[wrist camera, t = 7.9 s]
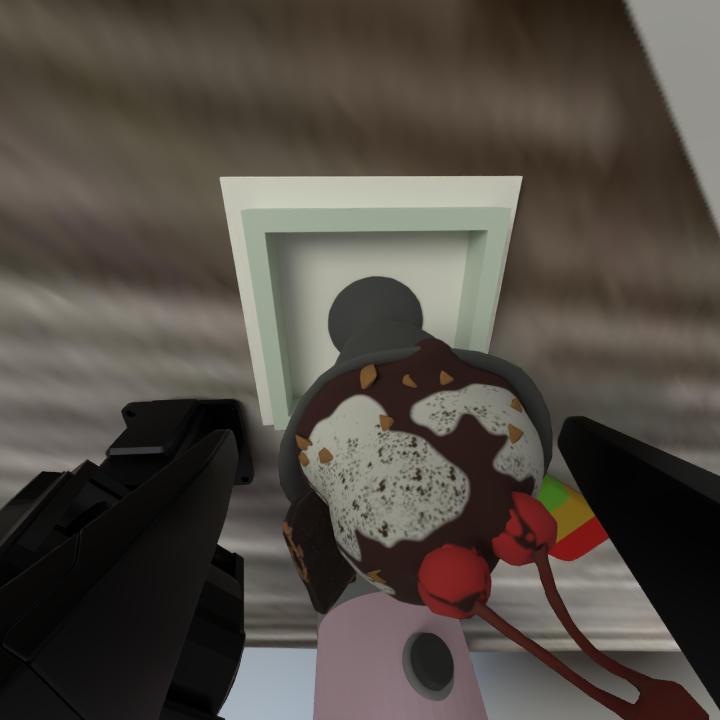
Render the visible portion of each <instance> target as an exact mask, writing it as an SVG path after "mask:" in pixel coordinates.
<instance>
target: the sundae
mask: <svg viewBox="0 0 720 720" xmlns="http://www.w3.org/2000/svg"><path fill="white" fill-rule="evenodd" d="M422 324H423V315H422V309H421V306H420V302H419V301H418V299H417V297H416V296H415V294H414V293H413V292H412V291H411V290H410V288H409V287H407V286H406V285H404V284H403V283H401V282H399V281H397V280H395V279H393V278H388V277H382V276H371V277H367V278H362V279H360V280H357V281H354V282H352V283H351V284H350V285H348V286H347V287H345V288H344V289H343V290H342V291H341V292H340V293H339V294H338V295H337V297H336V298H335V300H334V302H333V304H332V306H331V308H330V310H329V316H328V331H329V335H330V338H331V340H332V342H333V345H334V346H335V347H336V349H337V350H338V351H339V352H340V354H339V356H338V358H337V360H336V362H335V364H334V366H332V367H331V368H330V369H328V370H327V371H326V372H324V373H323V374H322V375H320V376H319V377H318V379H317V380H316V381H315V382H314V383H313V385H312V386H311V387H310V388H309V389H308V390H307V392H306V393H305V394H304V395H303V396H302V398H301V399H300V401H299V403H298V405H297V407H296V409H295V411H294V413H293V414H292V416H291V418H290V421H289V423H288V426H287V428H286V431H285V433H284V436H283V438H282V441H281V445H280V455H279V476H280V485H281V487H282V488H283V490H284V492H285V494H286V496H287V498H288V499H289V501H290V502H291V506H290V508H289V511H288V513H287V515H286V518H285V520H284V523H283V525H282V527H283V535H284V537H285V540H286V543H287V546H288V549H289V551H290V554H291V557H292V560H293V562H294V565H295V567H296V569H297V571H298V573H299V576H300V578H301V579H302V581H303V583H304V584H305V586H306V588H307V590H308V593H309V596H310V599H311V601H312V604H313V606H314V608H315V610H316V611H317V612H319V613H320V614H322V615H323V614H327V613H328V612H329V610H330V609H331V608H332V607H333V605H334V604H335V603H336V602H337V600H338V599H339V597H340V596H341V595H342V593H343V592H344V590H345V589H346V588H347V586H348V585H349V583H350V582H351V581H352V579H353V578H354V576H355V575H356V573H358V574H360V575H361V576H362V577H363V578H365V579H366V580H367V581H368V582H369V583H371V584H372V585H374V586H375V587H376V588H378V589H379V590H381V591H383V592H384V593H386V594H388V595H389V596H391V597H393V598H394V599H396V600H398V601H400V602H403V603H407V604H410V605H418V606H427V607H428V608H429V609H430V610H431V611H432V613H435V614H438V615H442V616H446V617H451V618H455V619H467V618H471V617H472V616H474V615H477V616H480V617H481V618H483V619H484V620H485V621H486V622H488V623H489V624H490V625H492V626H493V627H494V628H496V629H497V630H498V631H500V632H501V633H502V634H504V635H505V636H506V637H508V638H509V639H511V640H512V641H514V642H515V643H517V644H518V645H520V646H522V647H523V648H525V649H526V650H528V651H529V652H530V653H532V654H533V655H534V656H536V657H537V658H538V659H540V660H541V661H542V662H544V663H545V664H547V665H548V666H549V667H550V668H552V669H553V670H555V671H556V672H557V673H559V674H560V675H561V676H563V677H564V678H565V679H567V680H568V681H570V682H571V683H572V684H574V685H575V686H576V687H578V688H579V689H580V690H582V691H583V692H584V693H586V694H587V695H589V696H590V697H591V698H593V699H595V700H596V701H598V702H599V703H601V704H602V705H604V706H605V707H607V708H609V709H610V710H612V711H613V712H615V713H616V714H617V715H619V716H620V717H621V718H622V719H624V720H709V715H708V714H707V712H706V711H705V710H704V709H703V708H702V707H701V706H700V705H699V704H698V703H697V702H696V701H695V699H694V698H693V697H692V696H691V695H690V694H689V693H688V692H687V691H686V690H685V689H684V688H683V687H682V686H681V685H680V684H678V683H676V682H673V681H667V680H658V679H652V678H650V677H648V676H646V675H644V674H641V673H639V672H637V671H634V670H632V669H630V668H627V667H625V666H623V665H621V664H619V663H618V662H616V661H614V660H613V659H611V658H609V657H607V656H606V655H604V654H602V653H601V652H600V651H599V650H597V649H596V648H595V647H594V646H593V645H592V644H591V643H590V642H589V640H588V639H587V638H586V637H585V636H584V635H583V634H582V633H581V632H580V631H579V629H578V628H577V626H576V625H575V624H574V622H573V621H572V619H571V617H570V615H569V613H568V611H567V609H566V607H565V605H564V603H563V601H562V599H561V597H560V595H559V593H558V591H557V589H556V585H555V582H554V578H553V575H552V571H551V568H550V564H549V561H548V553H549V552H550V551H551V550H552V549H553V547H554V546H555V544H556V540H557V529H558V525H557V521H556V520H555V519H554V518H553V516H552V515H551V514H550V512H549V511H548V510H547V509H546V507H545V506H544V505H543V503H542V502H541V501H539V500H537V497H538V496H539V494H540V490H541V485H542V480H543V479H544V477H545V475H546V472H547V469H548V467H549V464H550V461H551V459H552V428H551V422H550V415H549V412H548V409H547V407H546V405H545V402H544V400H543V397H542V395H541V393H540V392H539V390H538V388H537V387H536V385H535V384H534V382H533V381H532V379H531V378H530V377H529V376H528V375H527V374H526V373H525V372H524V371H523V370H522V369H521V368H519V367H517V366H515V365H513V364H511V363H509V362H507V361H505V360H503V359H500V358H497V357H494V356H491V355H488V354H486V353H483V352H480V351H472V350H464V349H456V348H451V347H450V346H449V345H448V344H446V343H445V342H443V341H442V340H440V339H436V338H435V337H434V336H433V335H431V334H429V333H427V332H426V331H424V330H422ZM500 559H501V560H503V561H505V562H507V563H509V564H510V565H515V566H521V565H525V564H529V563H534V562H535V563H536V565H537V567H538V570H539V575H540V579H541V582H542V585H543V587H544V590H545V594H546V597H547V599H548V601H549V603H550V605H551V607H552V609H553V610H554V612H555V614H556V615H557V617H558V618H559V620H560V621H561V623H562V624H563V626H564V627H565V629H566V630H567V632H568V633H569V635H570V636H571V637H572V638H573V639H574V641H575V642H576V643H577V644H578V645H579V647H580V648H581V649H582V650H583V651H584V652H585V653H586V654H587V655H588V656H589V657H590V658H592V659H593V660H594V661H595V662H596V663H598V664H599V665H601V666H602V667H604V668H605V669H607V670H608V671H610V672H611V673H613V674H615V675H617V676H619V677H621V678H623V679H626V680H627V681H629V682H630V683H631V684H632V685H634V686H635V687H636V688H637V689H638V691H639V692H640V695H639V699H638V700H637V702H636V703H635V704H631V703H629V702H627V701H625V700H623V699H620V698H618V697H616V696H614V695H612V694H610V693H608V692H605V691H603V690H601V689H599V688H597V687H595V686H594V685H592V684H590V683H589V682H588V681H586V680H585V679H583V678H582V677H581V676H579V675H578V674H576V673H575V672H573V671H572V670H571V669H569V668H568V667H567V666H566V665H565V664H563V663H562V662H561V661H559V660H558V659H557V658H556V657H554V656H553V655H552V654H551V653H550V652H548V651H547V650H545V649H544V648H543V647H541V646H540V645H538V644H537V643H535V642H534V641H533V640H531V639H529V638H527V637H525V636H524V635H523V634H522V633H521V632H519V631H518V630H517V629H516V628H514V627H513V626H511V625H510V624H508V623H507V622H506V621H504V620H503V619H502V618H501V617H500V616H498V615H497V614H496V613H495V612H494V611H493V610H491V609H490V608H489V607H488V606H487V605H486V603H487V601H488V599H489V596H490V592H491V582H492V581H491V576H490V574H491V572H492V571H493V569H494V568H495V566H496V565H497V563H498V561H499V560H500Z"/></svg>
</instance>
